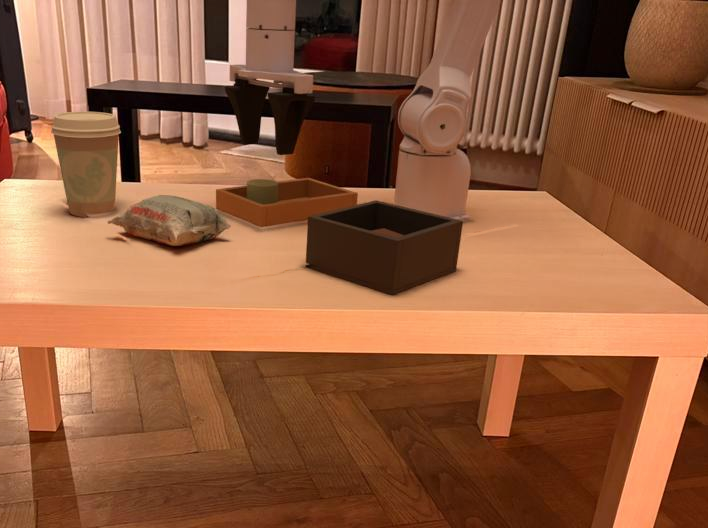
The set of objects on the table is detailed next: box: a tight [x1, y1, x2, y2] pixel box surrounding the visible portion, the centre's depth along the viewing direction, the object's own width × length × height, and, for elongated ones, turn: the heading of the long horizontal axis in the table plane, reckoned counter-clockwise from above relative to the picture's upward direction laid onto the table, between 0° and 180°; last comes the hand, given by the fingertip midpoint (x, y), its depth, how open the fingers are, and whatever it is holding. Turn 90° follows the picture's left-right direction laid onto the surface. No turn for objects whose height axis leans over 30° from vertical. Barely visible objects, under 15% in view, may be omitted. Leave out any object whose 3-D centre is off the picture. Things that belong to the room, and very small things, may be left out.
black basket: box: [305, 199, 464, 296], centre depth 82 cm, size 12×12×6 cm
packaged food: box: [107, 194, 231, 247], centre depth 89 cm, size 9×12×5 cm
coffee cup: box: [50, 111, 122, 218], centre depth 98 cm, size 9×8×12 cm
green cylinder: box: [246, 178, 279, 205], centre depth 100 cm, size 4×4×4 cm
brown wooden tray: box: [215, 177, 359, 228], centre depth 103 cm, size 16×11×3 cm
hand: (267, 149), depth 96 cm, fingers open, 7 cm apart
